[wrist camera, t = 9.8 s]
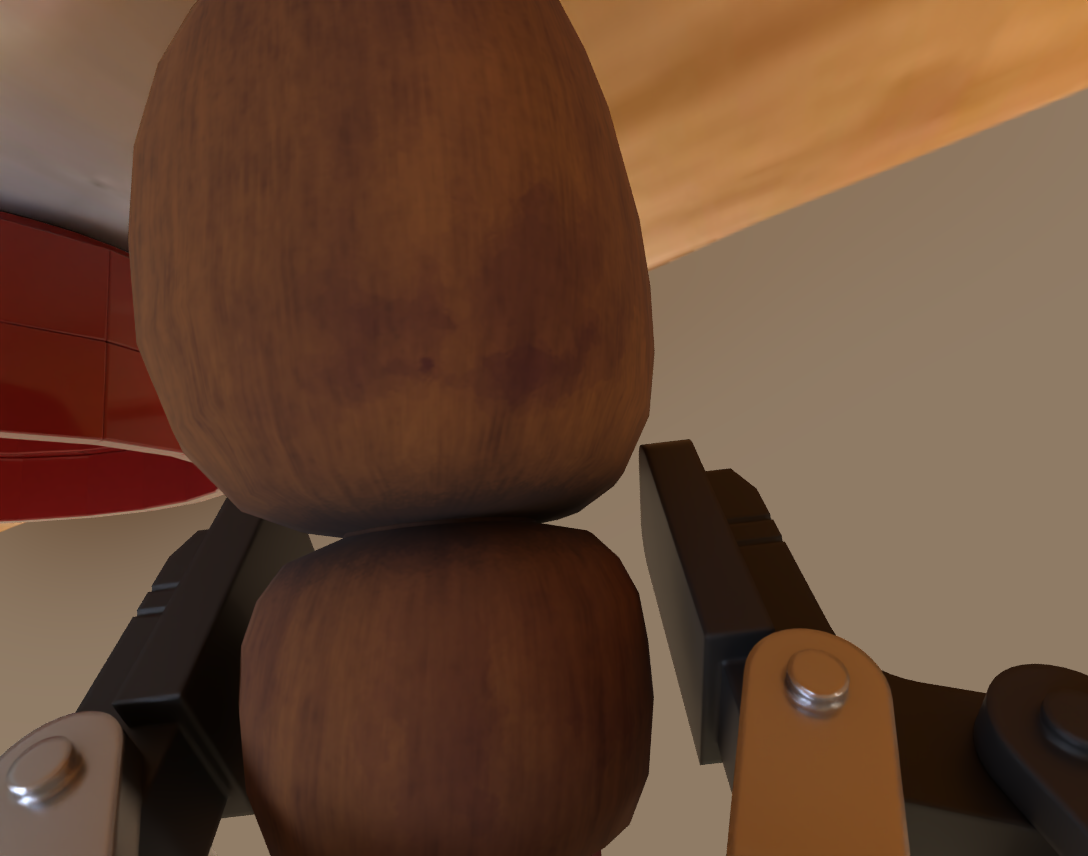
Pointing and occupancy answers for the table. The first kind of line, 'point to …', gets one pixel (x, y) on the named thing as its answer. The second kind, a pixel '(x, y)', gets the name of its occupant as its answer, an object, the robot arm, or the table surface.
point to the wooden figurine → (409, 408)
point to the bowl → (78, 386)
